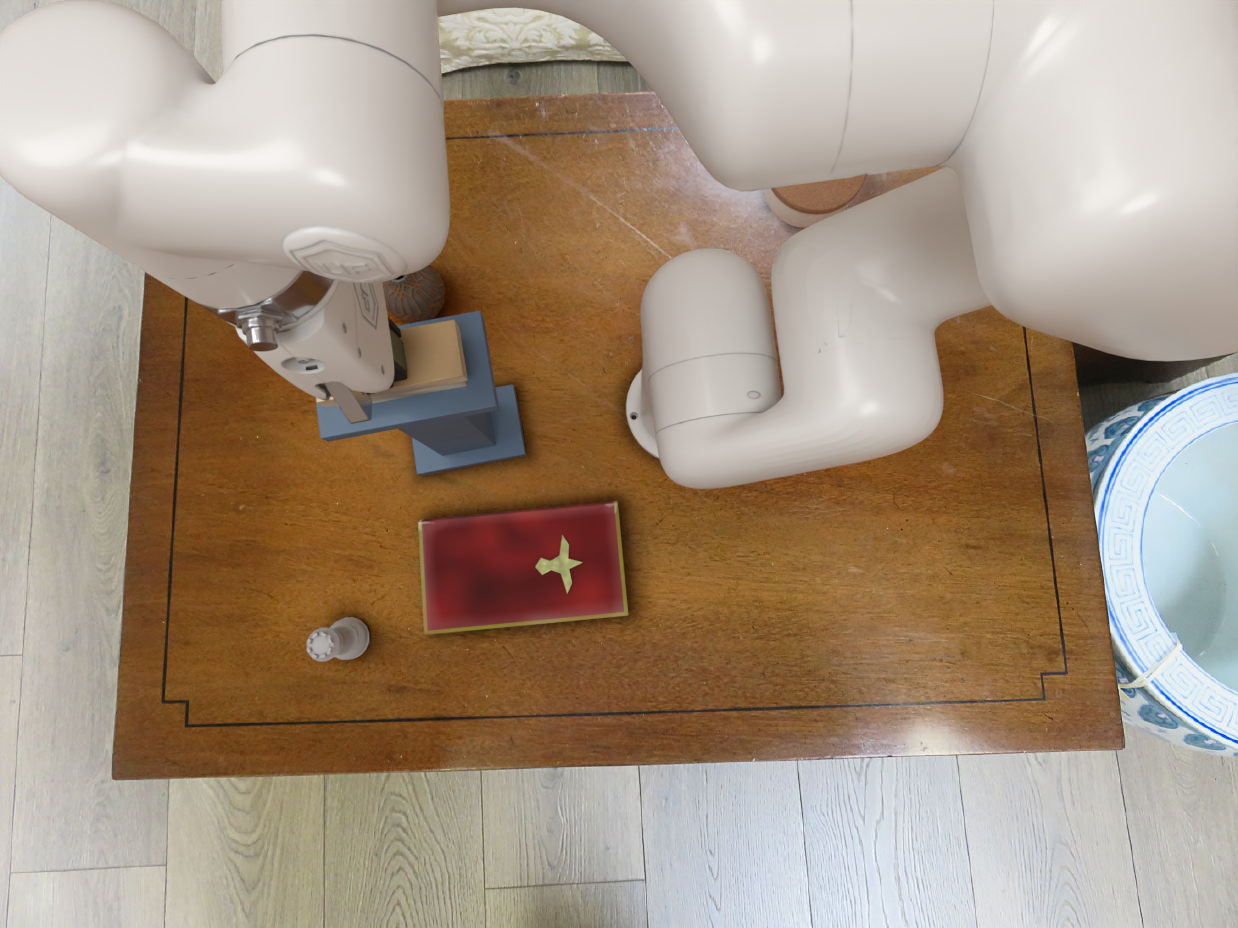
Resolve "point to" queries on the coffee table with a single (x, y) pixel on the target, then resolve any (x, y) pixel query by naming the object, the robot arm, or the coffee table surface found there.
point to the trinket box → (812, 200)
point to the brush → (424, 362)
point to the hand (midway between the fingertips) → (383, 358)
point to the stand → (447, 413)
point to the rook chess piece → (339, 640)
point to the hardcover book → (522, 567)
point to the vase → (415, 295)
